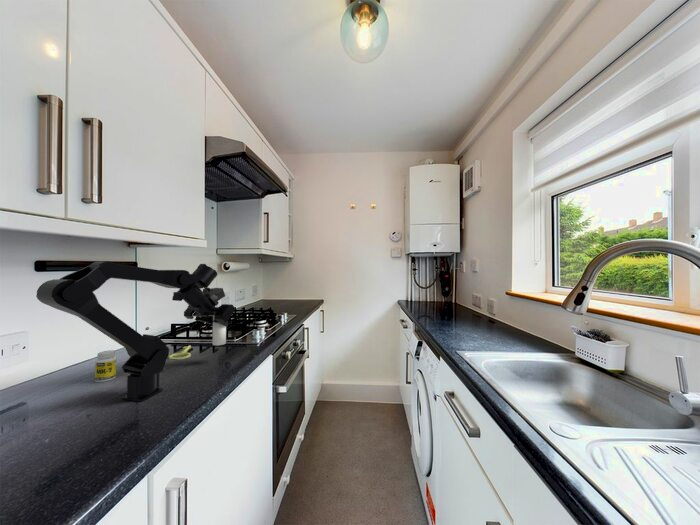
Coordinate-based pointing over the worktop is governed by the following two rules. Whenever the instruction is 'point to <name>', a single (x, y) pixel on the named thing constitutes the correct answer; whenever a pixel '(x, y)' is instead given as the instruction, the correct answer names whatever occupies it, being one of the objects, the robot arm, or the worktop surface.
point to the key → (182, 353)
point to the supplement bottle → (105, 366)
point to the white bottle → (219, 334)
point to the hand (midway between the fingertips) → (222, 324)
